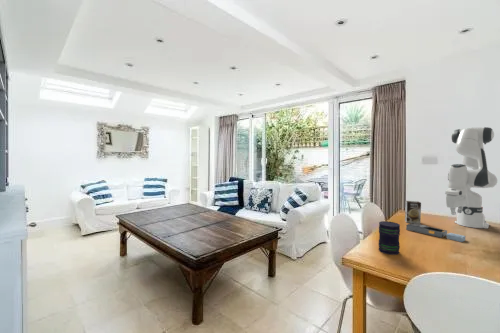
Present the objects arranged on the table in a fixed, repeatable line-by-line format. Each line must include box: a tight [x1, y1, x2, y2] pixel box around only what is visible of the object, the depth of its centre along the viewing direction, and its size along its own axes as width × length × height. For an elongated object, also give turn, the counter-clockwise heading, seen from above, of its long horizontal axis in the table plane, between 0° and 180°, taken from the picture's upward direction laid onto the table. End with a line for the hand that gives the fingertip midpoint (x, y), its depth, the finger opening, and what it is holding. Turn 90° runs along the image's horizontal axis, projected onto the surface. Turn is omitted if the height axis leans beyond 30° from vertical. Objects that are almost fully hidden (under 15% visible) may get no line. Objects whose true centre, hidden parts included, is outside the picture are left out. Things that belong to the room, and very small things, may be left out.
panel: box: [446, 232, 466, 243], centre depth 148 cm, size 5×8×3 cm, turn 31°
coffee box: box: [404, 200, 422, 224], centre depth 187 cm, size 9×6×16 cm
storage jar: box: [378, 220, 401, 256], centre depth 130 cm, size 10×10×15 cm
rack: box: [405, 223, 448, 239], centre depth 162 cm, size 8×20×4 cm, turn 32°
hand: (456, 213), depth 148 cm, fingers open, 8 cm apart
